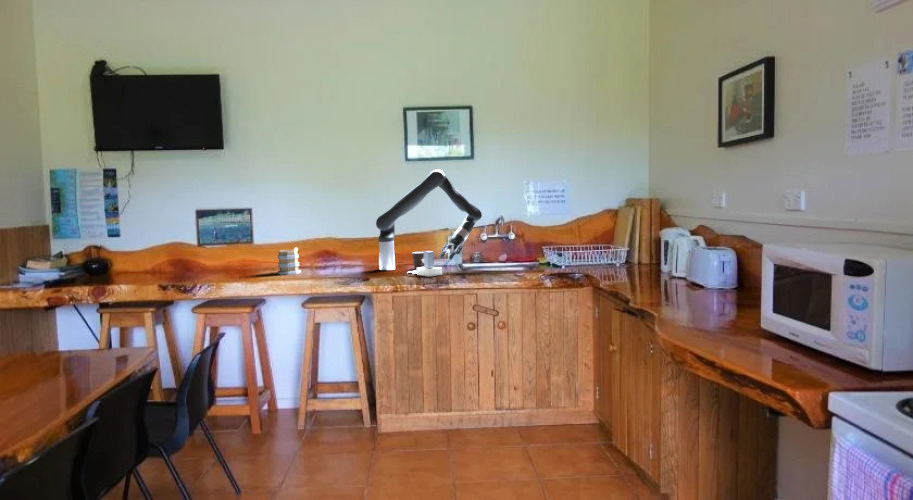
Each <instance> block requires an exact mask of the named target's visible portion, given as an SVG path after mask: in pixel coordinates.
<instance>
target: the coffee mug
mask: <svg viewBox="0 0 913 500" xmlns="http://www.w3.org/2000/svg"><path fill="white" fill-rule="evenodd" d="M424 252H425V251H415V252H412V261H413V262H412V263H413V267H414V270H417V268H419V267H424Z"/></svg>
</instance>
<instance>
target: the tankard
mask: <svg viewBox="0 0 913 500" xmlns="http://www.w3.org/2000/svg"><path fill="white" fill-rule="evenodd" d="M298 251H299V248H298V247H296V246H295V247H294V248H293V249H283V250H278V254H277V260H279V261H278V264H277V265H278V266H277V267H278V268H279V270H277V272H276V273H277V275H279V274H280V275H279V276H292V275H298V274H301V273H302V270H301V269H300V268H299V266H300V262H299V258H300V257H299V253H298ZM291 274H292V275H291Z"/></svg>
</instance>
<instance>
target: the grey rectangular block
mask: <svg viewBox="0 0 913 500" xmlns="http://www.w3.org/2000/svg"><path fill="white" fill-rule="evenodd" d="M423 252H424V268H427V269H429V268H435V259H434V258H435V255H434V254H435V253H434V251H430V250H428V251H423Z"/></svg>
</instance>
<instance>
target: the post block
mask: <svg viewBox="0 0 913 500" xmlns="http://www.w3.org/2000/svg"><path fill="white" fill-rule="evenodd" d="M408 273H412V274H411V275H414V274H417V276H422V277H428V278H429V277H434V276H435V277H436V276H442V275H443V267H441V266H440V267H439V266H438V267H434V268H429V269H427V268H424V267H419V268H417V269H416V270H412V271H407V274H408Z"/></svg>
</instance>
